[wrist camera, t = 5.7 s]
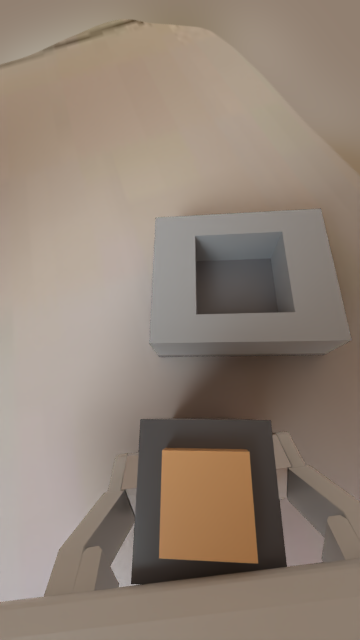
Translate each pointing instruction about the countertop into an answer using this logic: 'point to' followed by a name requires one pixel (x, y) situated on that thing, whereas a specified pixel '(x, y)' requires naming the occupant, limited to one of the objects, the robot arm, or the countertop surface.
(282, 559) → the plug
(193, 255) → the socket plate
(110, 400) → the countertop surface
